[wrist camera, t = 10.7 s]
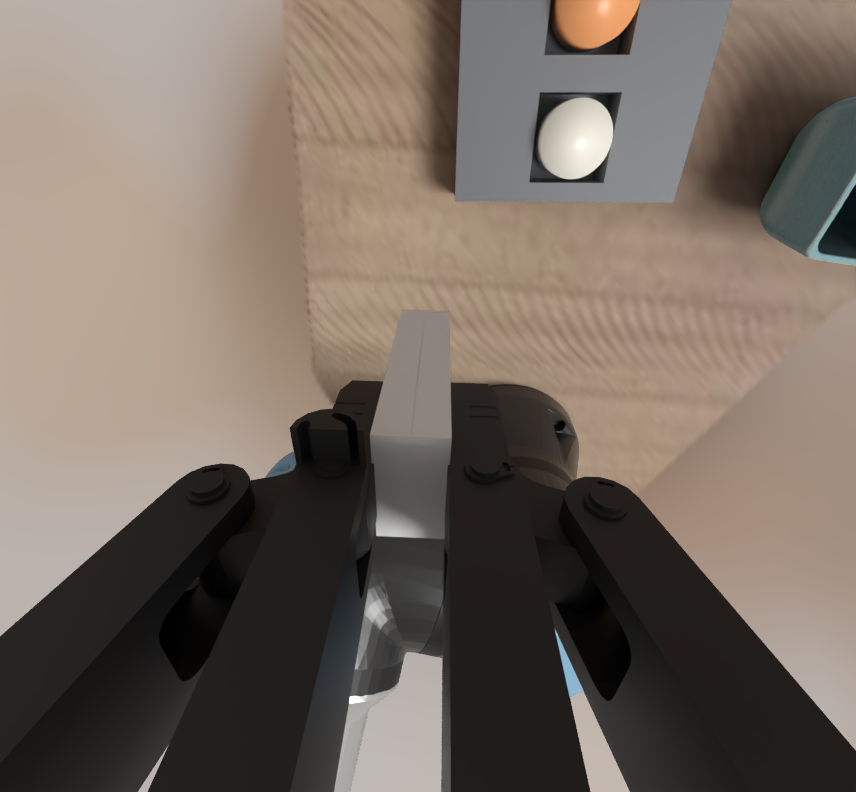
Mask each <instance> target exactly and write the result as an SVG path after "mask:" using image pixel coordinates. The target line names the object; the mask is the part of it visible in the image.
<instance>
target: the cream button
mask: <svg viewBox="0 0 856 792" xmlns="http://www.w3.org/2000/svg"><path fill="white" fill-rule="evenodd" d="M612 138H613V124H612V119H611V116H610V114H609V112H608V110H607V109H606V108H605V107H604V106H603V105H602V104H601V103H600V102H598V101H597V100H594V99H591V98H584V97H583V98H576V99H571V100H566V101H563V102H560V103H558V104H556V105H555V106H553V107H552V108H551V109H550V110H549V111H548V112H547V113H546V114H545V115H544V116H543V118H542V119H541V121H540V123H539V125H538V127H537V130H536V133H535V139H534V149H535V154H536V157H537V159H538V162H539V163H540V165H541V166H542V167H543V168H544V169H545V170H546V171H548V172H550V173H552V174H554V175H556V176H558V177H560V178H564V179H578V178H581V177H584V176H586V175H588V174H590V173H591V172H593V171H594V170H595V169H596V168H597V167H598V166H599V165H600V164H601V163H602V162H603V160H604V159H605V157H606V156H607V154H608V152H609V149H610V147H611V143H612Z"/></svg>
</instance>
